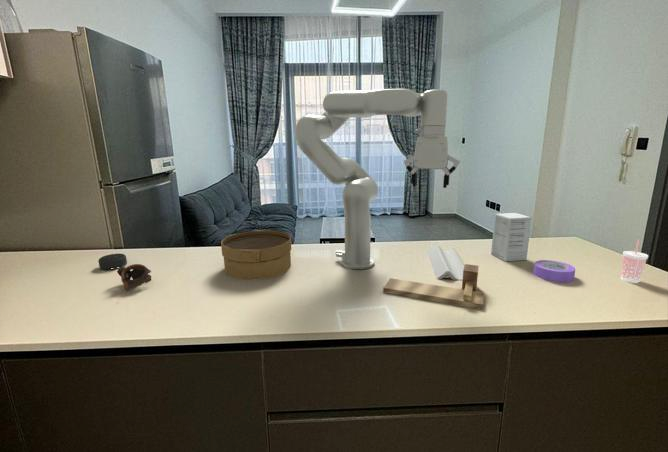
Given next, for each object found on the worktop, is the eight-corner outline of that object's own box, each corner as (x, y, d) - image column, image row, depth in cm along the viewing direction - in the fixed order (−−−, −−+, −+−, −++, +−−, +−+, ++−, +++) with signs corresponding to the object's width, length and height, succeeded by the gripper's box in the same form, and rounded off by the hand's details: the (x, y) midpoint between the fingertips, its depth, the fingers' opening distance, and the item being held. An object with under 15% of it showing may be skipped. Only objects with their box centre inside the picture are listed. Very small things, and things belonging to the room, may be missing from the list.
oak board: (383, 292, 103) (383, 287, 103) (390, 282, 110) (390, 278, 110) (482, 309, 92) (483, 304, 91) (483, 297, 99) (483, 292, 98)
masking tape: (528, 268, 121) (529, 258, 120) (564, 270, 118) (565, 260, 117) (540, 281, 109) (542, 270, 109) (580, 284, 107) (582, 273, 106)
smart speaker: (117, 270, 124) (116, 260, 123) (94, 270, 124) (92, 260, 123) (132, 262, 133) (130, 252, 132) (110, 262, 133) (108, 253, 132)
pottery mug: (161, 280, 116) (156, 265, 110) (143, 302, 109) (136, 287, 103) (129, 270, 117) (122, 255, 111) (109, 292, 110) (101, 276, 104)
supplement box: (527, 260, 128) (533, 217, 124) (505, 261, 127) (510, 218, 123) (510, 252, 138) (515, 212, 134) (490, 253, 136) (494, 213, 132)
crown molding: (472, 282, 111) (473, 272, 110) (435, 281, 113) (435, 270, 112) (455, 252, 141) (455, 244, 140) (425, 251, 142) (426, 243, 142)
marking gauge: (458, 305, 94) (460, 282, 92) (463, 284, 108) (464, 264, 106) (474, 308, 92) (476, 284, 91) (476, 286, 106) (478, 265, 104)
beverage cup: (638, 278, 111) (647, 237, 107) (645, 285, 105) (655, 242, 102) (615, 275, 113) (623, 235, 110) (621, 282, 108) (629, 240, 104)
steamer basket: (272, 284, 110) (269, 251, 107) (209, 276, 118) (205, 245, 115) (302, 260, 133) (301, 232, 130) (248, 255, 141) (245, 229, 138)
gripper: (402, 132, 106) (400, 187, 110) (460, 131, 99) (456, 189, 103) (407, 133, 112) (405, 184, 116) (462, 131, 105) (458, 186, 109)
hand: (429, 186), depth 110 cm, fingers open, 9 cm apart
